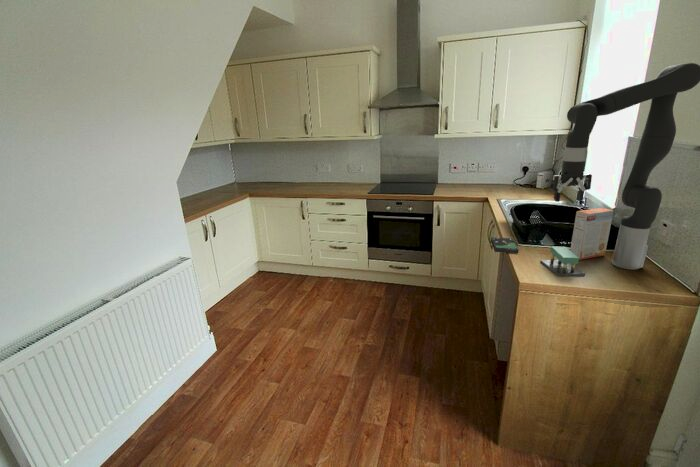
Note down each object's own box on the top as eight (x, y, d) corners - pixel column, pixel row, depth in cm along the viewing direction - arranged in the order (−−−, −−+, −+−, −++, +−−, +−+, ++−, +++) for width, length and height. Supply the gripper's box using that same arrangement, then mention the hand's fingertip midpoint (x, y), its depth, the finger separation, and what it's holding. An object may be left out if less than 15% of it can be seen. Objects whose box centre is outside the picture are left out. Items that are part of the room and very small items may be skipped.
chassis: (564, 261, 145) (566, 250, 144) (584, 276, 132) (587, 264, 131) (540, 262, 146) (542, 251, 144) (558, 276, 133) (560, 264, 131)
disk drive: (490, 242, 173) (494, 252, 159) (490, 237, 172) (495, 247, 158) (512, 243, 170) (518, 254, 156) (512, 238, 169) (519, 248, 156)
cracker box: (592, 251, 155) (601, 207, 148) (605, 256, 149) (615, 210, 143) (567, 255, 152) (576, 210, 145) (579, 260, 146) (588, 213, 140)
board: (577, 263, 131) (579, 257, 131) (562, 263, 132) (563, 257, 131) (564, 252, 143) (565, 246, 142) (550, 251, 143) (551, 246, 143)
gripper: (561, 161, 126) (554, 203, 131) (600, 159, 125) (592, 202, 131) (550, 159, 133) (544, 199, 138) (587, 157, 132) (580, 197, 138)
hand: (567, 200), depth 134 cm, fingers open, 8 cm apart
